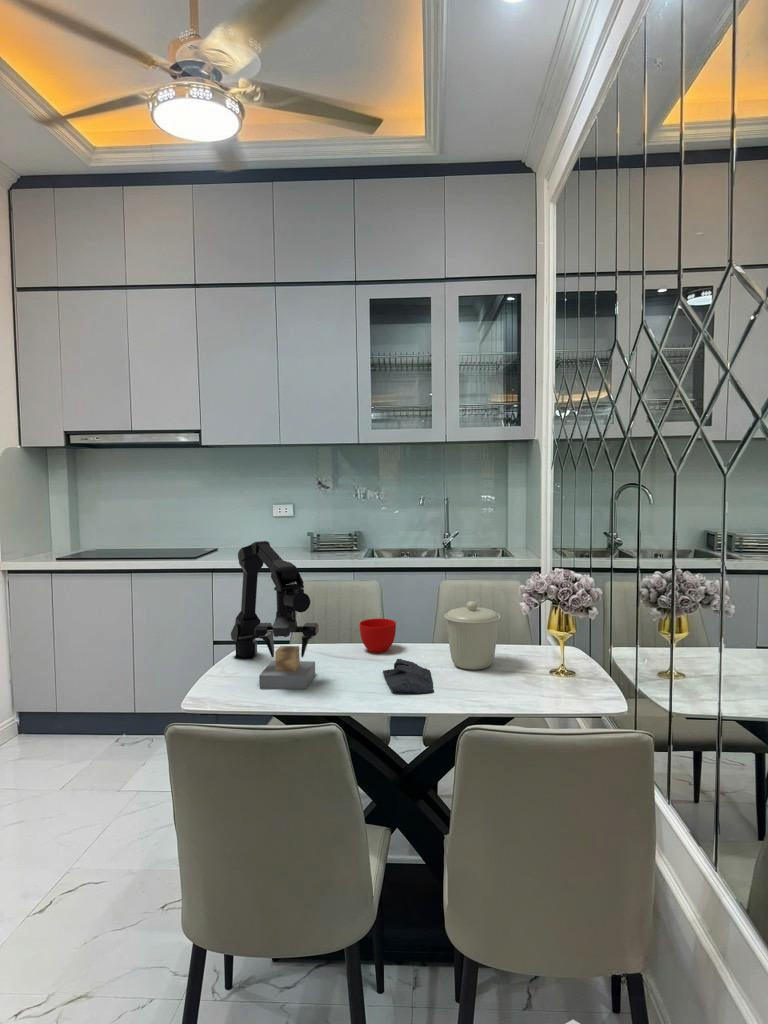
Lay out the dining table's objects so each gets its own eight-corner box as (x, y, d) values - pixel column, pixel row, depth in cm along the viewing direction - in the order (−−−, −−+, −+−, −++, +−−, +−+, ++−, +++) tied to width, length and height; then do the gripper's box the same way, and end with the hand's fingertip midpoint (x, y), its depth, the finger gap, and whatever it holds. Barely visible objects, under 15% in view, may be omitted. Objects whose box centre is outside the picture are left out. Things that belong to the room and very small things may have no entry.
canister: (486, 654, 215) (485, 594, 214) (510, 670, 198) (510, 604, 196) (436, 660, 210) (435, 598, 209) (457, 676, 193) (456, 609, 192)
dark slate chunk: (382, 697, 178) (382, 680, 178) (382, 672, 200) (382, 657, 200) (436, 696, 178) (436, 679, 178) (430, 671, 200) (430, 656, 200)
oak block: (275, 671, 189) (275, 651, 189) (280, 664, 195) (280, 646, 195) (295, 671, 188) (294, 651, 188) (299, 665, 194) (299, 646, 194)
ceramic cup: (388, 641, 234) (388, 615, 234) (400, 654, 218) (400, 625, 217) (354, 644, 231) (354, 617, 231) (364, 657, 215) (363, 628, 214)
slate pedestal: (259, 688, 186) (259, 675, 185) (271, 673, 199) (271, 661, 199) (306, 689, 184) (305, 675, 184) (315, 673, 198) (314, 661, 198)
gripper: (248, 612, 183) (250, 665, 184) (311, 612, 182) (312, 665, 183) (259, 604, 194) (260, 654, 195) (318, 604, 193) (319, 654, 194)
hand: (287, 657), depth 191 cm, fingers open, 9 cm apart
